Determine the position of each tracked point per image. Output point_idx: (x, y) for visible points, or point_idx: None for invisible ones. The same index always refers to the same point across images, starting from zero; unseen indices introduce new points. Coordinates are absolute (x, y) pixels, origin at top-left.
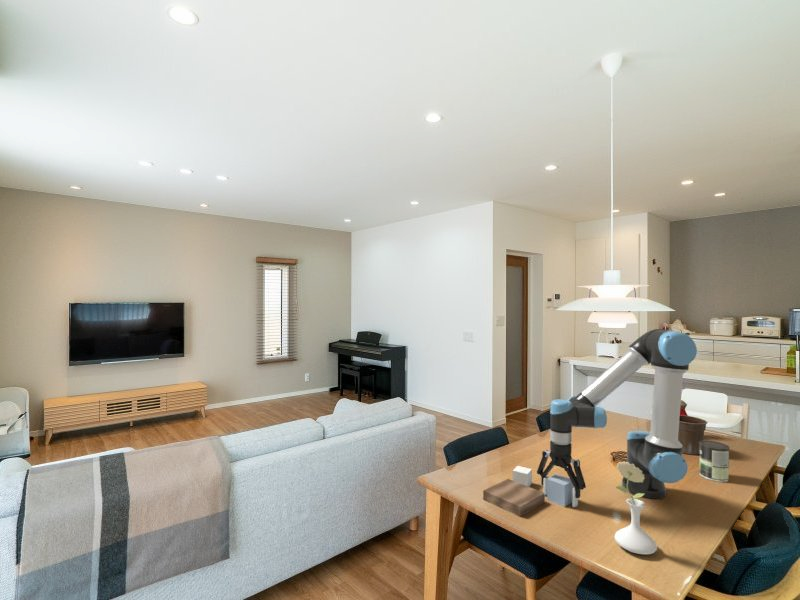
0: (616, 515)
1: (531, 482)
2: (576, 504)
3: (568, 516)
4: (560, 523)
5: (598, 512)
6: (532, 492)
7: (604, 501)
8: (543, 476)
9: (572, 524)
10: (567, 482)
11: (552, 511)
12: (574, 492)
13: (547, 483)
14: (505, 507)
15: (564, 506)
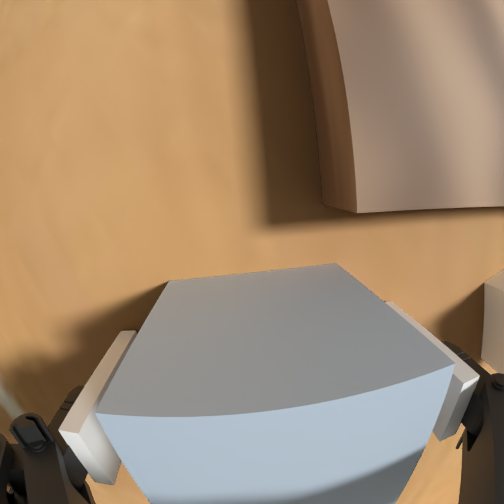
0: (9, 405)
1: (486, 356)
2: None
3: (65, 171)
4: (60, 48)
5: (39, 381)
6: (431, 115)
7: (123, 483)
8: (490, 388)
9: (12, 111)
10: (162, 496)
11: (180, 121)
12: (71, 407)
13: (410, 331)
14: None
15: (169, 282)
